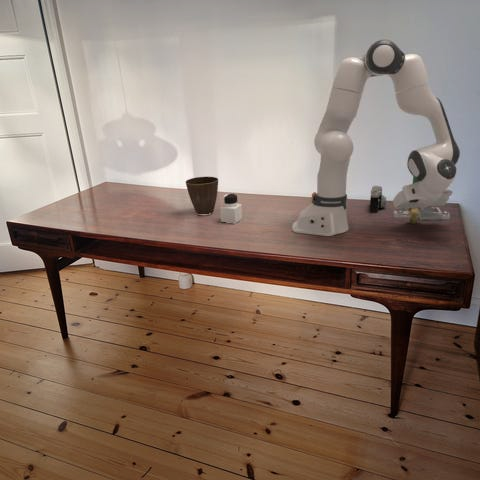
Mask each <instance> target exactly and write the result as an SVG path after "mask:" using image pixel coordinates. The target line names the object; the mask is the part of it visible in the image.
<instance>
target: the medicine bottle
mask: <svg viewBox="0 0 480 480" xmlns="http://www.w3.org/2000/svg"><path fill="white" fill-rule="evenodd" d="M222 200H223V201H222V202H223V205H222V206H220V207H219V209H220V210H219V213H220V222H221V221H224V222H231V223H236V222H238V221H239V220H240V219H242V220H243V211H242V210H243V208H242V203H238V195H237V194H235V193H226V194H224V195H223V196H222ZM240 221H241V220H240ZM240 221H239V222H240ZM239 222H238V223H239ZM236 224H237V223H236Z"/></svg>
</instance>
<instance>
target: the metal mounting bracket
mask: <svg viewBox="0 0 480 480" xmlns="http://www.w3.org/2000/svg"><path fill="white" fill-rule="evenodd" d="M408 216H409V211H406V210H403V209H396V210H393V218H394V219H395V218H397V219H398V218H399V219H400V218H401V219H402V218H403V219H405V218H406V219H408ZM450 218H451V214H450V213H449V211H448V210H441V209H440V207H439V206H433V207H426V208H424V209H423V210H421V211H418V219H419V221H433V222H434V221H435V222H436V221H437V222H438V221H439V222H441V221H442V220H450Z"/></svg>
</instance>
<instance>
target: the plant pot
mask: <svg viewBox="0 0 480 480" xmlns="http://www.w3.org/2000/svg"><path fill="white" fill-rule="evenodd" d="M185 185H186V189H187V192H188V195H189V198H190V201H191V204H192V207H193V209H194V211H195V213H196V214H197V213H198V214H209V213H212V212H213V213H214V211H215V206H216V203H217V197H218V190H219V189H218V188H219V178H218V177H215V176H197V177H192V178H188V179H186V180H185ZM198 214H197V215H198Z"/></svg>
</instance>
